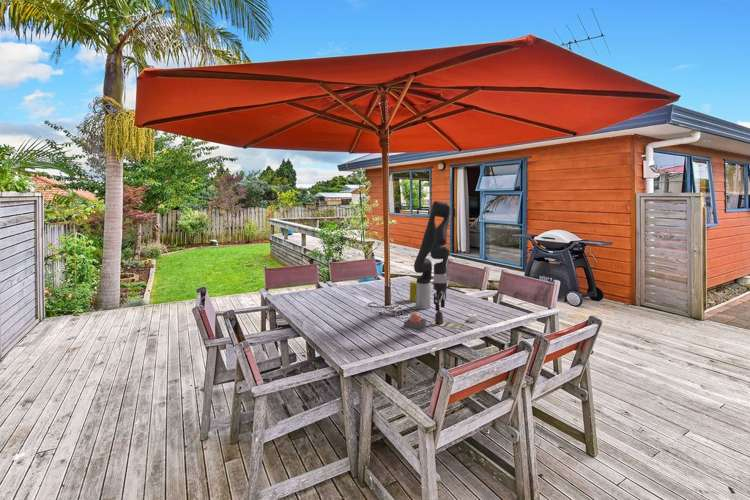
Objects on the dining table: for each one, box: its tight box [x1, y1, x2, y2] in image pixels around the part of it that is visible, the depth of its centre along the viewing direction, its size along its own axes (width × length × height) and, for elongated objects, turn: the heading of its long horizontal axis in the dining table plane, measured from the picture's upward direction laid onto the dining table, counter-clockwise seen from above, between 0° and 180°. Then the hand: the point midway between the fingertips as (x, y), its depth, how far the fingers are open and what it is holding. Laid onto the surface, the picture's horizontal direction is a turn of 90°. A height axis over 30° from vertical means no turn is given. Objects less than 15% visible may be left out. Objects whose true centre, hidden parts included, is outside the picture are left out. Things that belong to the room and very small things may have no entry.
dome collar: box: [403, 317, 427, 330], centre depth 211 cm, size 10×10×4 cm
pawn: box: [434, 310, 444, 325], centre depth 214 cm, size 4×4×7 cm
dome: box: [409, 312, 422, 323], centre depth 210 cm, size 6×6×6 cm
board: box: [428, 319, 465, 330], centre depth 212 cm, size 18×10×1 cm, turn 60°
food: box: [409, 280, 417, 303], centre depth 269 cm, size 15×12×10 cm
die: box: [468, 313, 478, 323], centre depth 218 cm, size 4×4×4 cm
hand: (440, 309), depth 213 cm, fingers open, 8 cm apart
